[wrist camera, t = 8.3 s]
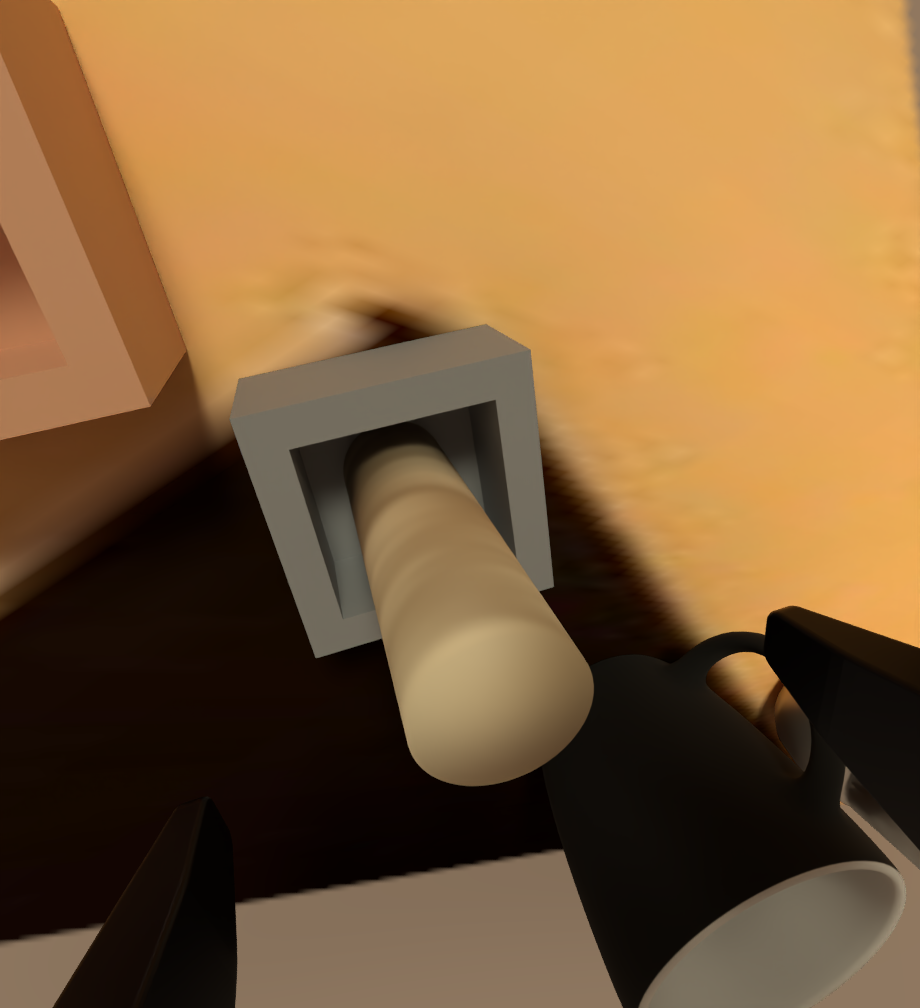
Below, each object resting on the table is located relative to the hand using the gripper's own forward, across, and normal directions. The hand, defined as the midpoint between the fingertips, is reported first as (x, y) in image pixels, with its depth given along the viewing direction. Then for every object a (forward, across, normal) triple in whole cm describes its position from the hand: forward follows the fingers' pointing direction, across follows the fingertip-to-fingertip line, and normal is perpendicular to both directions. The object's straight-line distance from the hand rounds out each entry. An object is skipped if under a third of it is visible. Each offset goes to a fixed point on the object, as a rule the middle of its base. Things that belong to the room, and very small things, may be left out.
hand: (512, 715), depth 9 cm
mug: (+11, -7, +12) cm, 18 cm away
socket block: (+10, 0, 0) cm, 11 cm away
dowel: (+10, 0, 0) cm, 10 cm away
